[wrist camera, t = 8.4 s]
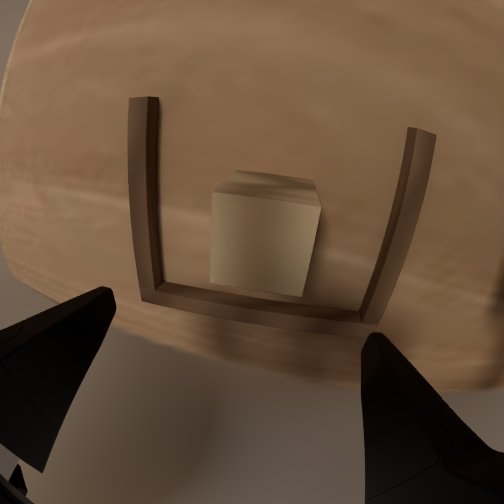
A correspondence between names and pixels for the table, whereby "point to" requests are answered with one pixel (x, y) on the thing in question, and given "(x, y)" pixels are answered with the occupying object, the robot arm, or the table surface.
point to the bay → (257, 309)
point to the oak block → (263, 232)
